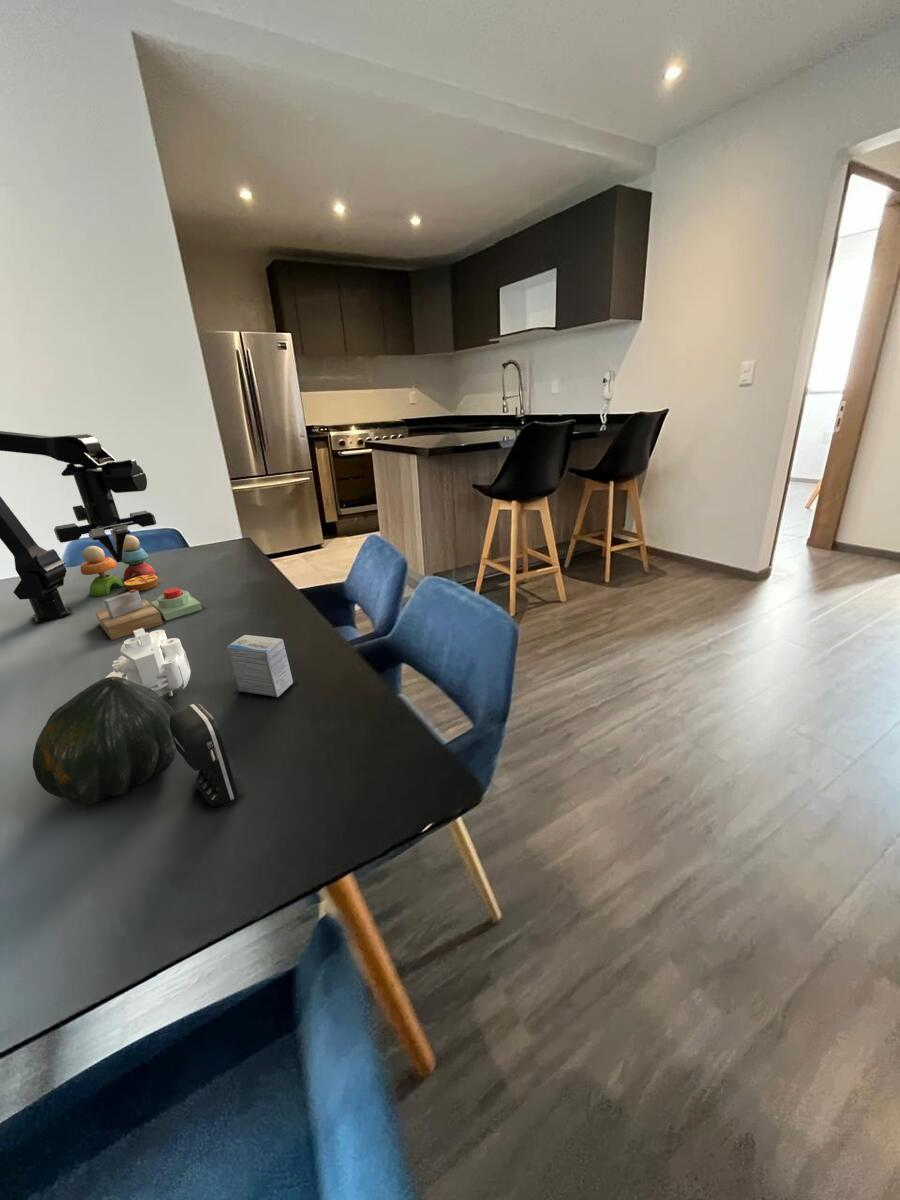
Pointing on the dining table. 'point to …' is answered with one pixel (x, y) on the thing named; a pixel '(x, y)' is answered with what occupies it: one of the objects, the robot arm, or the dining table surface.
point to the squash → (104, 742)
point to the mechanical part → (153, 662)
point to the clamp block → (129, 621)
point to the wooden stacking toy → (100, 564)
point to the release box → (176, 605)
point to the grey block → (123, 603)
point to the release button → (172, 593)
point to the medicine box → (260, 665)
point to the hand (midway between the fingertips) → (119, 561)
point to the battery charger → (204, 753)
